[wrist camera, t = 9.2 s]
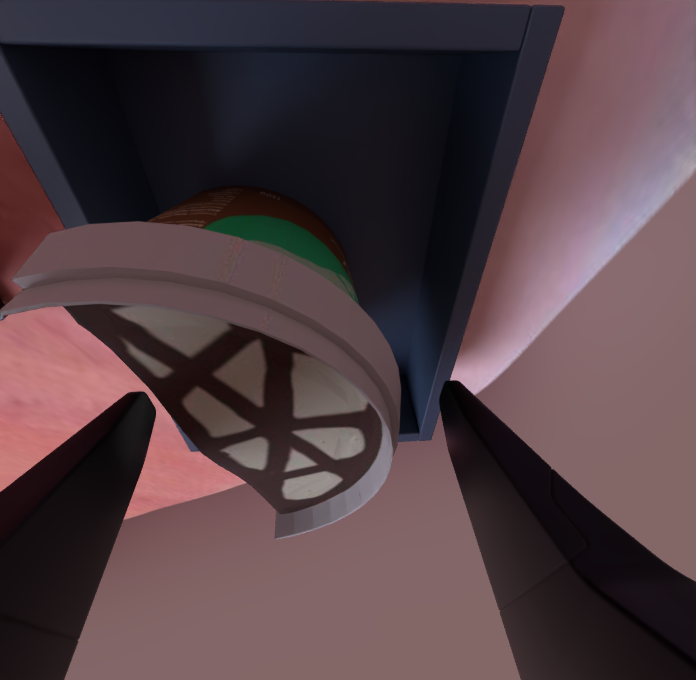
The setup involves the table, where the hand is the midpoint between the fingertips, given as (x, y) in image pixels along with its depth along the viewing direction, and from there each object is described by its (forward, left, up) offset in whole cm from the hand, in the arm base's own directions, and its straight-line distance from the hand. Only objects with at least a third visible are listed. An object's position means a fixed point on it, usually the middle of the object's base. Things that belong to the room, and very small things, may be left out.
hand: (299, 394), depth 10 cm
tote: (0, 0, -9) cm, 9 cm away
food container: (0, 0, -8) cm, 8 cm away
